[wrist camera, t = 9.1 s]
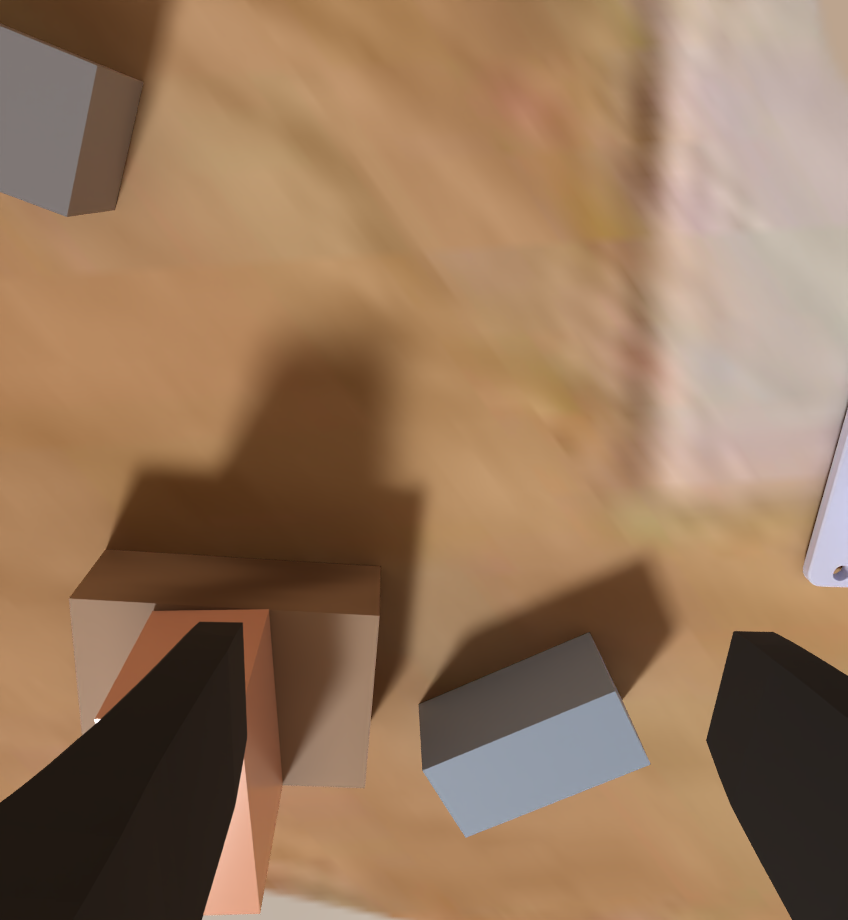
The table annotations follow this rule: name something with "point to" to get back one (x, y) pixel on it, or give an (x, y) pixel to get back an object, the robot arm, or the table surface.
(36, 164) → the gray brick
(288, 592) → the walnut block
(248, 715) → the terracotta brick
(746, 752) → the robot arm
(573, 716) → the slate-blue brick
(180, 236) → the table surface
